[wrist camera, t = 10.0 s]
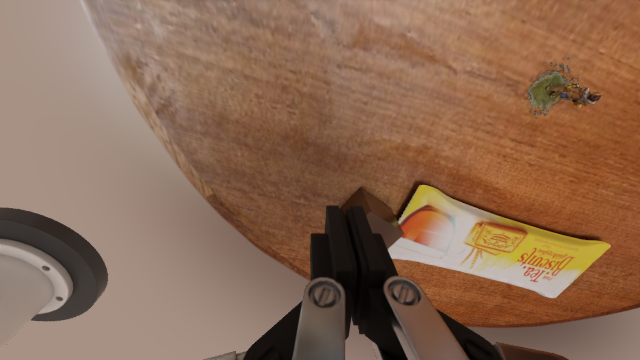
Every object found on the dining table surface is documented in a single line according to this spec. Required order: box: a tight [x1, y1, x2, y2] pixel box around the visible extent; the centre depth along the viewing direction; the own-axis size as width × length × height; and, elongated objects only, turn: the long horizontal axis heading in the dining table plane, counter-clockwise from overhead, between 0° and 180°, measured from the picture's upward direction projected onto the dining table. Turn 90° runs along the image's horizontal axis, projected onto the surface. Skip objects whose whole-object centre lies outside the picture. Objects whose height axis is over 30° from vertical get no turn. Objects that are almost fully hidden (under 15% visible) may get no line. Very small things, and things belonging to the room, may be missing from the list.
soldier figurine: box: [524, 58, 602, 125], centre depth 22 cm, size 2×1×4 cm, turn 44°
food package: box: [388, 185, 611, 298], centre depth 31 cm, size 27×2×10 cm
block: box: [341, 188, 404, 249], centre depth 27 cm, size 4×4×4 cm
